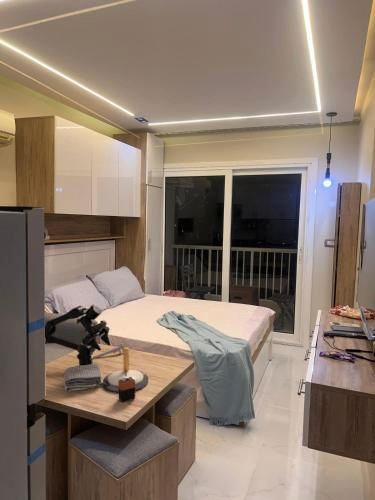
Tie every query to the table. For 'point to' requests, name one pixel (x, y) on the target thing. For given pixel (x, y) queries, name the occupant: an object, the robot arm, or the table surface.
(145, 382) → the dial plate
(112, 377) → the dial
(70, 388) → the towel
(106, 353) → the caliper
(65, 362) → the table surface
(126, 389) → the battery
